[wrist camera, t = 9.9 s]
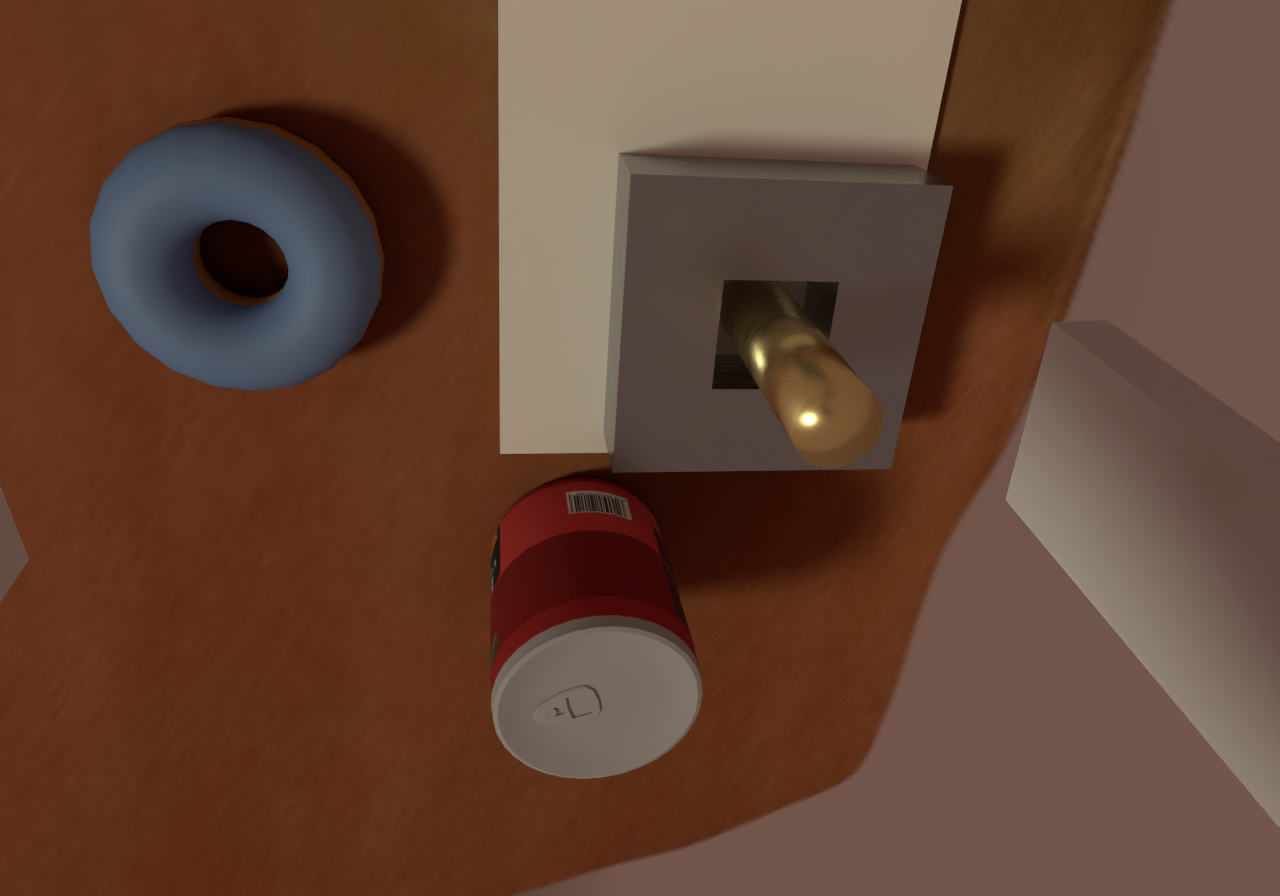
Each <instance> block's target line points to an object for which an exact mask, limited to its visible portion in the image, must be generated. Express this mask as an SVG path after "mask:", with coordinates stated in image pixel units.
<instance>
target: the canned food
mask: <svg viewBox="0 0 1280 896" xmlns="http://www.w3.org/2000/svg"><path fill="white" fill-rule="evenodd" d="M490 689H491V710H492V714H493V721H494V725H495V729H496V733H497V735H498V737H499V738H500V740H501V742H502V743H503V745H504V747H505V748H506V749H507V750H508V751H509V752H510V753H511V754H512V755H513V756H514V757H515V758H517V759H518V760H520V761H521V762H523V763H524V764H526V765H527V766H529V767H531V768H534V769H536V770H539V771H541V772H544V773H547V774H551V775H555V776H560V777H566V778H579V779H586V778H602V777H607V776H612V775H617V774H622V773H625V772H628V771H630V770H633V769H636V768H639V767H641V766H643V765H645V764H647V763H649V762H651V761H653V760H655V759H657V758H659V757H660V756H662V755H663V754H664V753H666V752H667V751H669V750H670V749H672V748H673V747H674V746H675V745H676V744H677V743H678V742H679V741H680V740H681V739H682V738H683V737H684V736H685V735H686V733H687V732H688V730H689V729H690V727H691V726H692V725H693V723H694V721H695V719H696V717H697V714H698V712H699V710H700V705H701V699H702V685H701V676H700V668H699V664H698V661H697V657H696V654H695V648H694V645H693V642H692V638H691V635H690V631H689V628H688V625H687V621H686V618H685V615H684V611H683V608H682V604H681V601H680V598H679V594H678V591H677V587H676V584H675V581H674V577H673V574H672V570H671V567H670V564H669V560H668V557H667V554H666V550H665V547H664V543H663V540H662V537H661V533H660V530H659V527H658V525H657V522H656V520H655V518H654V516H653V515H652V513H651V512H650V510H649V509H648V508H647V506H646V505H644V504H643V503H642V502H641V501H640V500H639V499H638V498H637V497H636V496H635V495H634V494H632V493H631V492H630V491H628V490H627V489H625V488H623V487H621V486H620V485H618V484H615V483H612V482H609V481H606V480H603V479H597V478H590V477H572V478H566V479H560V480H555V481H553V482H550V483H547V484H544V485H541V486H539V487H537V488H536V489H534V490H532V491H530V492H528V493H527V494H525V495H524V496H523V497H522V498H520V499H519V500H518V501H517V502H516V503H515V504H514V505H513V506H512V507H511V508H510V510H509V511H508V512H507V513H506V515H505V516H504V518H503V520H502V522H501V523H500V525H499V527H498V529H497V531H496V533H495V535H494V539H493V542H492V546H491V650H490Z"/></svg>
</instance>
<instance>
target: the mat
mask: <svg viewBox="0 0 1280 896" xmlns="http://www.w3.org/2000/svg"><path fill="white" fill-rule="evenodd" d="M961 3H962V0H498V70H499V316H500V454H529V453H608V451H607V446H606V442H605V438H604V433H603V431H604V413H605V394H606V376H607V357H608V339H609V321H610V302H611V284H612V265H613V247H614V229H615V210H616V192H617V173H618V155H619V153H627V154H652V155H677V156H702V157H727V158H752V159H777V160H802V161H827V162H852V163H876V164H901V165H917V166H919V167H920V168H922V169H924V170H926V171H927V167H928V162H929V158H930V153H931V148H932V143H933V138H934V133H935V128H936V124H937V119H938V114H939V109H940V104H941V99H942V95H943V90H944V85H945V80H946V75H947V70H948V66H949V61H950V56H951V51H952V46H953V41H954V36H955V32H956V27H957V22H958V17H959V12H960V7H961ZM730 281H731V280H724V284H723V289H724V288H725V286H726V285H727V284H728V283H729V282H730ZM807 282H808V281H780V283H781V284H782V285H783V286H784V287H785V289H786V290H787V291H788V292H789V293H790V295H791V296H792V297H793V298H794V299H795V301H796V302H797V303H798V304H799V305H800V307H801V308H802V309H803V307H804V301H805V295H806V288H807ZM716 355H739V353H738V351H737V350H736V348H735V346H734V345H733V343H732V341H731V340H730V338H729V336H728V335H727V333H726V331H725V330H724V328H723V326H722V325H721V323H720V321H719V329H718V337H717V346H716Z"/></svg>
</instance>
